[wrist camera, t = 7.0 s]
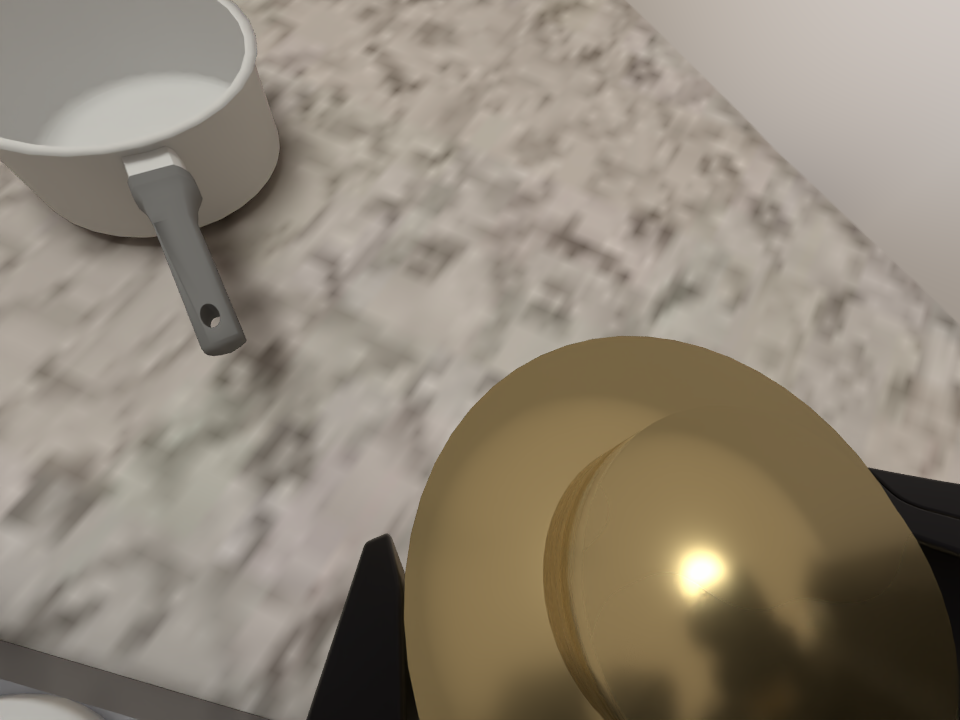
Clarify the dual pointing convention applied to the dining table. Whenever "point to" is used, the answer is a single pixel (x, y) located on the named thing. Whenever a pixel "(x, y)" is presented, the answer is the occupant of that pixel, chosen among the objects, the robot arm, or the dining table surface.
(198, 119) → the saucepan
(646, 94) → the dining table surface
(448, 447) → the brass weight
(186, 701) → the kitchen scale
